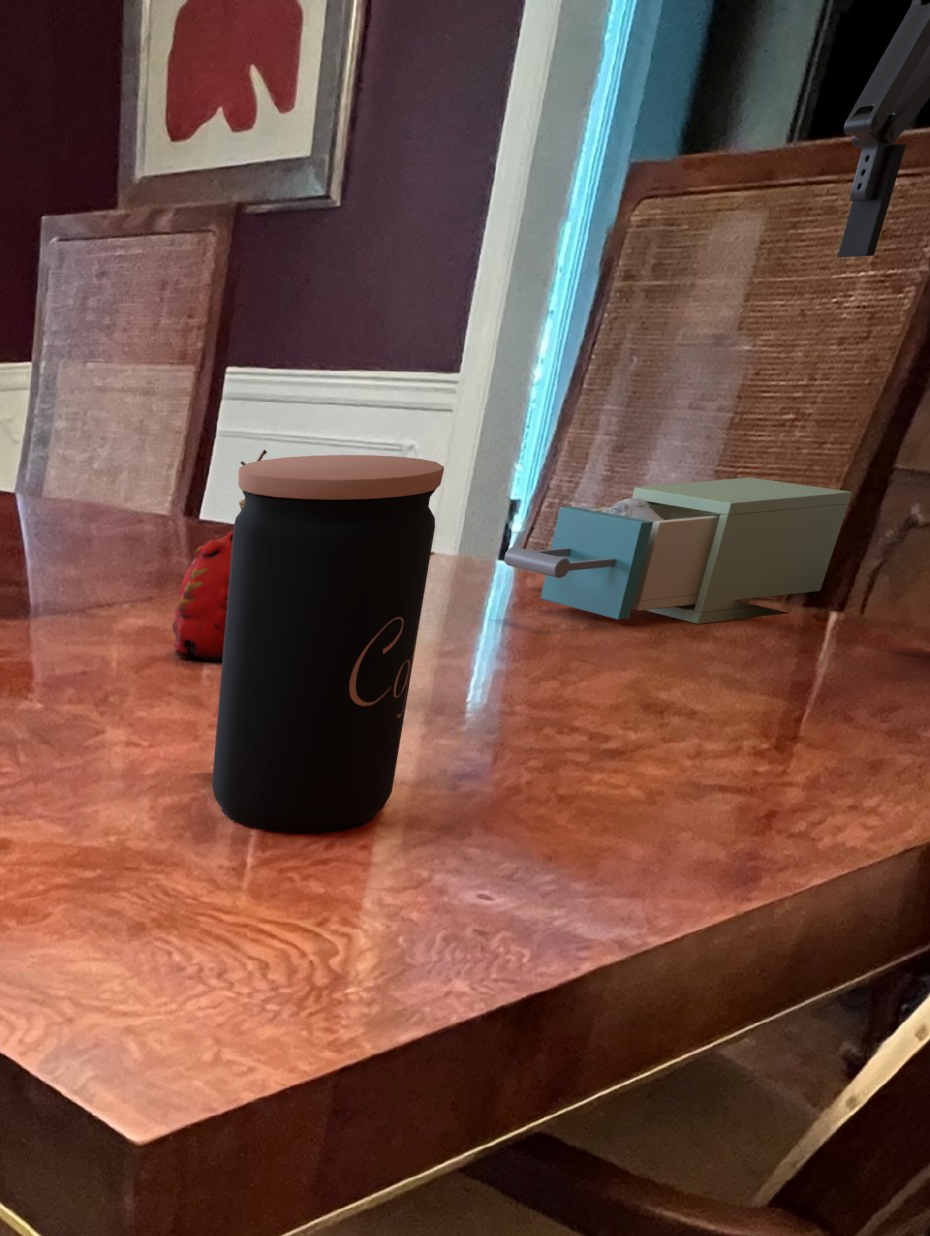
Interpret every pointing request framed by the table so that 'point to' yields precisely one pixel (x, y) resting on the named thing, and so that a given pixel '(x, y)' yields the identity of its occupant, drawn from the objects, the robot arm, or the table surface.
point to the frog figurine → (634, 511)
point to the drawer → (623, 559)
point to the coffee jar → (320, 638)
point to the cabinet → (756, 542)
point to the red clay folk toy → (205, 600)
